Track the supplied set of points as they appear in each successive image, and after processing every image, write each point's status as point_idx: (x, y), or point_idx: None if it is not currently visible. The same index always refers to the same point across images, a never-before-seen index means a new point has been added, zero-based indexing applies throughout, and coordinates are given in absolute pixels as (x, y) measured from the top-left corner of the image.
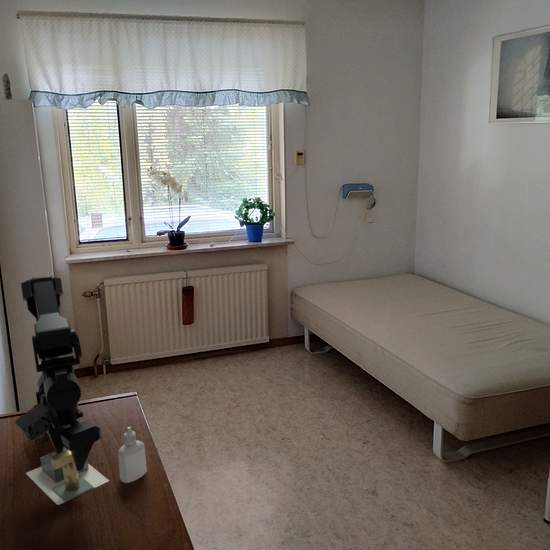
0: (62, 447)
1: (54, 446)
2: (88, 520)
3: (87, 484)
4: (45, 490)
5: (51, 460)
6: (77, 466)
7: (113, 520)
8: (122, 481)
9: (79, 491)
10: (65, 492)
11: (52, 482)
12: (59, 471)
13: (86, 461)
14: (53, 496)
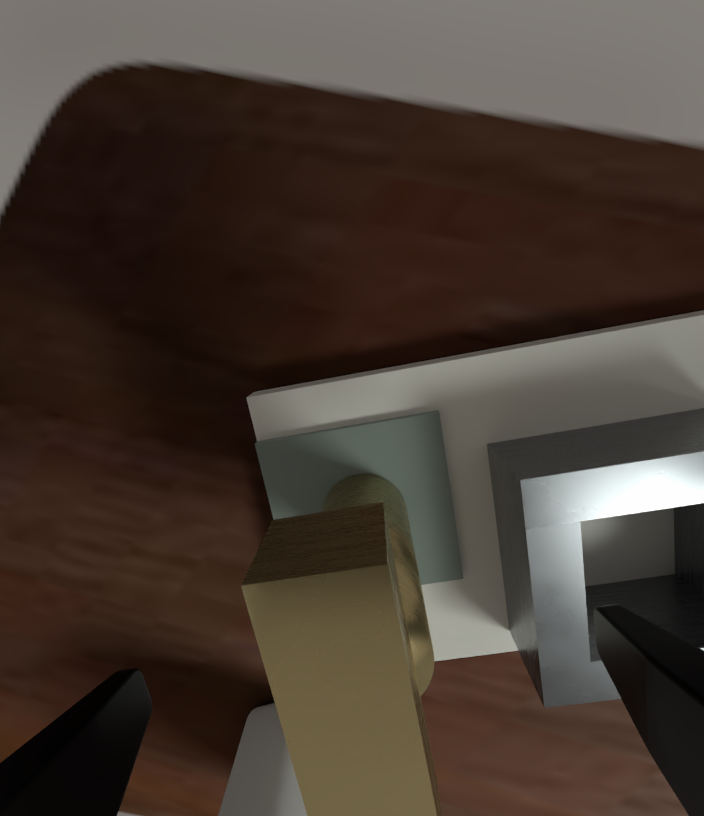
0: (629, 703)
1: (669, 670)
2: (82, 493)
3: None
4: (449, 372)
5: (369, 541)
6: (52, 727)
7: (26, 581)
8: (267, 719)
9: None
10: (333, 466)
11: (512, 428)
12: (514, 503)
13: (529, 667)
14: (352, 398)
